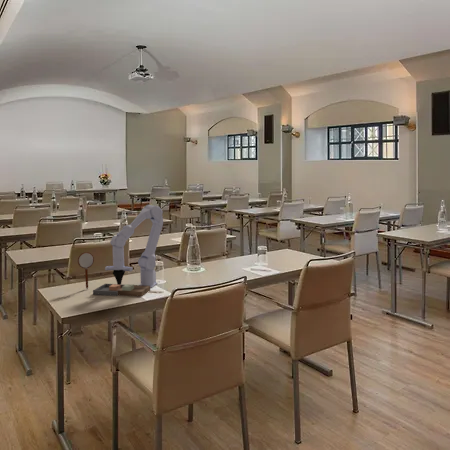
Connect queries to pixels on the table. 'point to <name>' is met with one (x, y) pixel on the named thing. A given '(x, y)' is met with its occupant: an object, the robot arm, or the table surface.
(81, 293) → the table surface
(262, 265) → the table surface
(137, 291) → the brown tray
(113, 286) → the terracotta tile
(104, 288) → the box
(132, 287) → the sage tile
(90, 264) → the magnifying glass
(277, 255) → the table surface
